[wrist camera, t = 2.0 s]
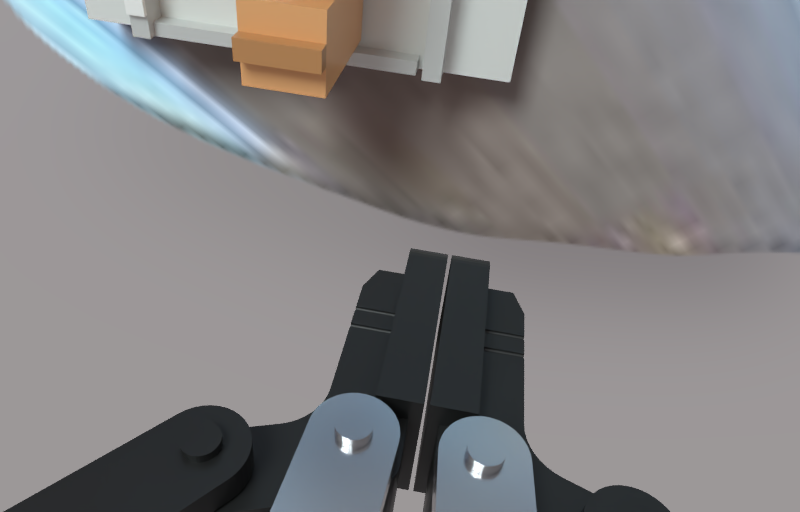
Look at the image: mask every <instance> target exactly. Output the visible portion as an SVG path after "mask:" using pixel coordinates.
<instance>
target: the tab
mask: <svg viewBox="0 0 800 512" xmlns="http://www.w3.org/2000/svg"><path fill="white" fill-rule="evenodd" d="M236 11H237V25H238V31H237V32H236V33H235V34H234V35H233V36H232V37H231V40H232V53H233V61H235V62H240V66H241V80H242V85H243V86H249V87H255V88H262V89H268V90H275V91H281V92H287V93H294V94H300V95H307V96H313V97H319V98H326V97H327V95H328V94H329V92H330V90H331V89H332V87H333V85H334V84H335V82H336V80H337V79H338V77H339V75H340V74H341V72H342V70H343V69H344V67H345V66H346V64H347V62H348V61H349V59H350V57H351V56H352V54H353V52H354V51H355V49H356V47H357V46H358V44H359V42H360V41H361V34H362V15H363V0H236Z"/></svg>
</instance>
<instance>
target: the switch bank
mask: <svg viewBox="0 0 800 512" xmlns="http://www.w3.org/2000/svg"><path fill="white" fill-rule="evenodd" d="M85 4H86V8H87V13H88V18H89V19H94V20H100V21H107V22H114V23H120V24H127V25H131V28H132V33H133V37H140V38H146V39H152V38H153V37H155V36H158V37H164V38H171V39H178V40H184V41H191V42H197V43H204V44H210V45H217V46H224V47H230V48H232V40H231V37H232V36H233V35H234V34H235V33H236V32H237V31H238V25H237V11H236V0H85ZM526 5H527V0H363V15H362V34H361V41H360V42H359V44H358V46H357V47H356V49H355V51H354V52H353V54H352V56H351V57H350V59H349V61H348V62H347V64H346V65H348V66H355V67H361V68H368V69H375V70H381V71H388V72H394V73H401V74H407V75H414V76H416V73H417V70H418V69H423V70H422V78H421V81H428V82H434V83H440V82H441V78H442V75H443V72H444V73H450V74H457V75H464V76H470V77H477V78H483V79H490V80H497V81H503V82H510V80H511V76H512V71H513V66H514V61H515V57H516V52H517V47H518V43H519V38H520V33H521V29H522V24H523V19H524V14H525V10H526Z"/></svg>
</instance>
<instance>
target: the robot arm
mask: <svg viewBox="0 0 800 512" xmlns="http://www.w3.org/2000/svg"><path fill="white" fill-rule="evenodd" d="M447 258H448V255H447V254H440V253H435V252H429V251H423V250H418V249H412V248H411V250H410V254H409V258H408V262H407V266H406V270H405V274H400V273H394V272H388V271H382V270H379V271H378V272H377V273H376V274H375V275H374V276H372V277H371V279H370V280H368V281H367V283H365V284H364V285H363V287H362V290H361V293H360V296H359V300H358V303H357V306H356V310H355V313H354V316H353V319H352V322H351V327H350V328H349V331H348V335H347V338H346V341H345V344H344V348H343V351H342V354H341V357H340V360H339V363H338V367H337V370H336V373H335V376H334V380H333V383H332V386H331V389H330V391H329V394H328V396H327V397H326V399H325V400H324V402H323V403H322V404H320V406H318V407H317V408H316V409H315V410H314V411H313V412H312V413H310V414H308V415H307V416H305V417H303V418H301V419H299V420H295V421H292V422H288V423H283V424H274V425H265V426H255V427H249V426H248V424H247V423H246V421H245V420H244V419H243V418H242V417H241V416H240V415H239V414H238V413H236V412H235V411H233V410H230V409H228V408H225V407H221V406H212V405H209V406H199V407H194V408H191V409H188V410H185V411H183V412H181V413H179V414H177V415H175V416H173V417H172V418H170V419H168V420H166V421H164V422H163V423H161V424H159V425H157V426H156V427H154V428H152V429H151V430H149V431H147V432H145V433H143V434H141V435H140V436H138V437H136V438H134V439H132V440H131V441H129V442H127V443H125V444H123V445H122V446H120V447H118V448H116V449H115V450H113V451H111V452H109V453H107V454H106V455H104V456H102V457H100V458H98V459H97V460H95V461H93V462H91V463H90V464H88V465H86V466H84V467H83V468H81V469H79V470H78V471H75V472H74V473H72V474H70V475H68V476H66V477H65V478H63V479H61V480H59V481H57V482H56V483H54V484H52V485H51V486H49V487H47V488H45V489H43V490H41V491H40V492H38V493H36V494H34V495H33V496H31V497H29V498H27V499H25V500H24V501H22V502H20V503H18V504H17V505H15V506H13V507H11V508H10V509H8V510H6V511H4V512H393V507H394V502H395V496H396V491H397V488H401V489H406V490H408V489H409V484H410V478H411V473H412V467H413V462H414V456H415V451H416V446H417V440H418V435H419V429H420V424H421V419H422V413H423V407H424V402H425V396H426V389H427V383H428V377H429V371H430V364H431V358H432V352H433V346H434V339H435V333H436V327H437V320H438V314H439V308H440V302H441V295H442V289H443V282H444V277H445V270H446V264H447ZM489 270H490V262H489V261H482V260H477V259H471V258H465V257H460V256H452V259H451V264H450V269H449V275H448V280H447V286H446V291H445V296H444V302H443V307H442V313H441V319H440V324H439V330H438V336H437V342H436V348H435V355H434V361H433V368H432V374H431V381H430V387H429V393H428V400H427V407H426V413H425V419H424V426H423V432H422V439H421V445H420V451H419V458H418V465H417V471H416V477H415V484H414V491H417V492H422V493H426V494H425V501H424V508H423V512H670V511H669V510H668V509H667V508H666V507H665V506H664V505H663V504H662V503H661V502H659V501H658V500H657V499H656V498H654V497H652V496H651V495H649V494H648V493H646V492H643V491H641V490H639V489H636V488H632V487H628V486H622V485H615V486H614V485H613V486H608V487H604V488H602V489H599V490H598V491H597V492H595V493H591V492H590V491H588V490H586V489H584V488H582V487H580V486H578V485H576V484H574V483H572V482H570V481H568V480H566V479H564V478H562V477H560V476H559V475H557V474H555V473H554V472H552V471H551V470H550V469H548V468H547V467H546V466H545V465H544V464H543V463H542V462H541V461H540V460H539V459H538V458H537V456H536V455H535V454H534V452H533V451H532V449H531V448H530V446H529V444H528V442H527V439H526V435H525V432H524V358H523V357H524V340H523V339H524V313H523V311H522V309H521V307H520V305H519V303H518V301H517V299H516V298H515V296H514V294H513V293H510V292H504V291H499V290H493V289H488V284H489Z"/></svg>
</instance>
